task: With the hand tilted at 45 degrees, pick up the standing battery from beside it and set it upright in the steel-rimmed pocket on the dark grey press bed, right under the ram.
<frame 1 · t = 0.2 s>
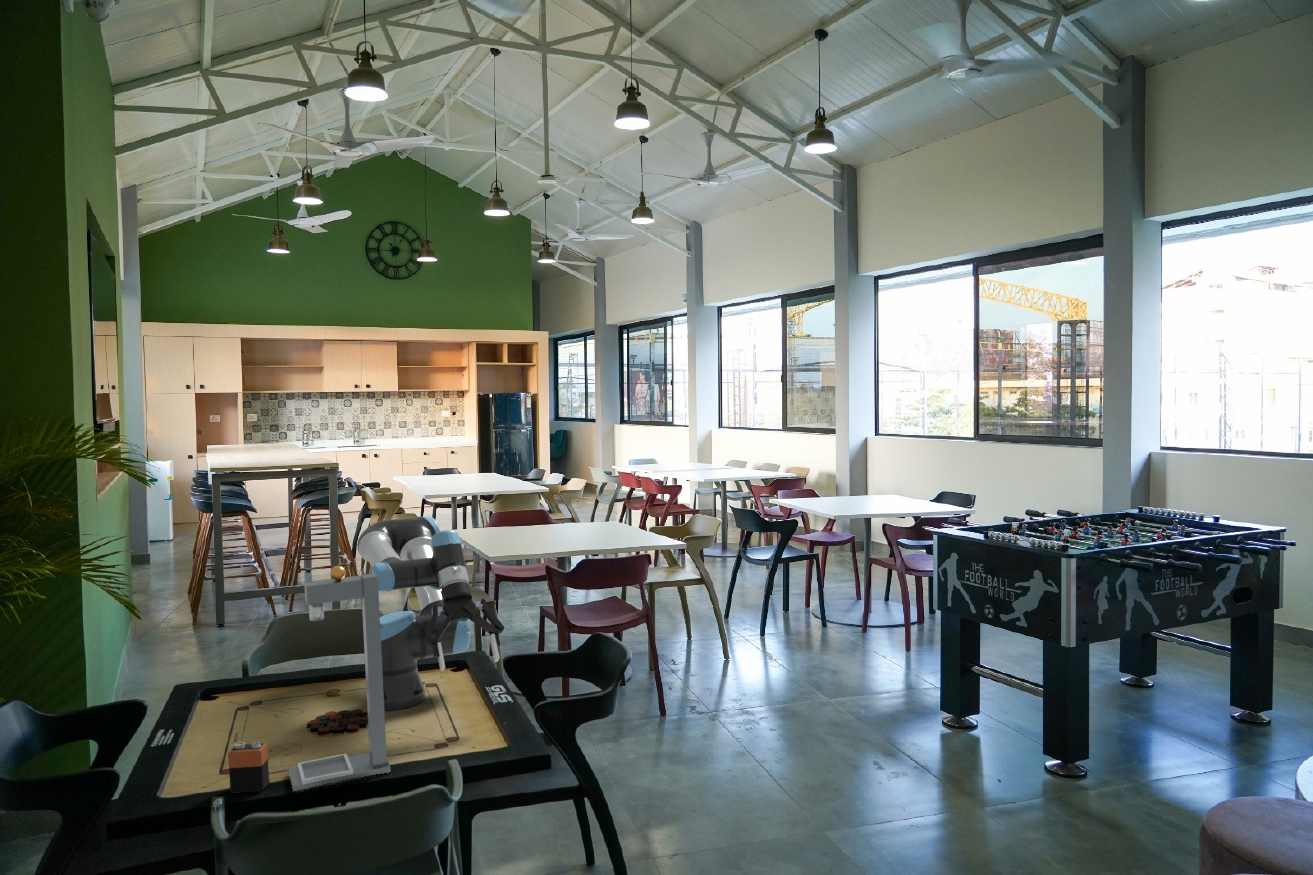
hand: (470, 665, 226), 15 cm above the table, tool tilted 35°, fingers open, 13 cm apart
battery: (250, 790, 194), on the table
arbor press: (339, 774, 200), on the table
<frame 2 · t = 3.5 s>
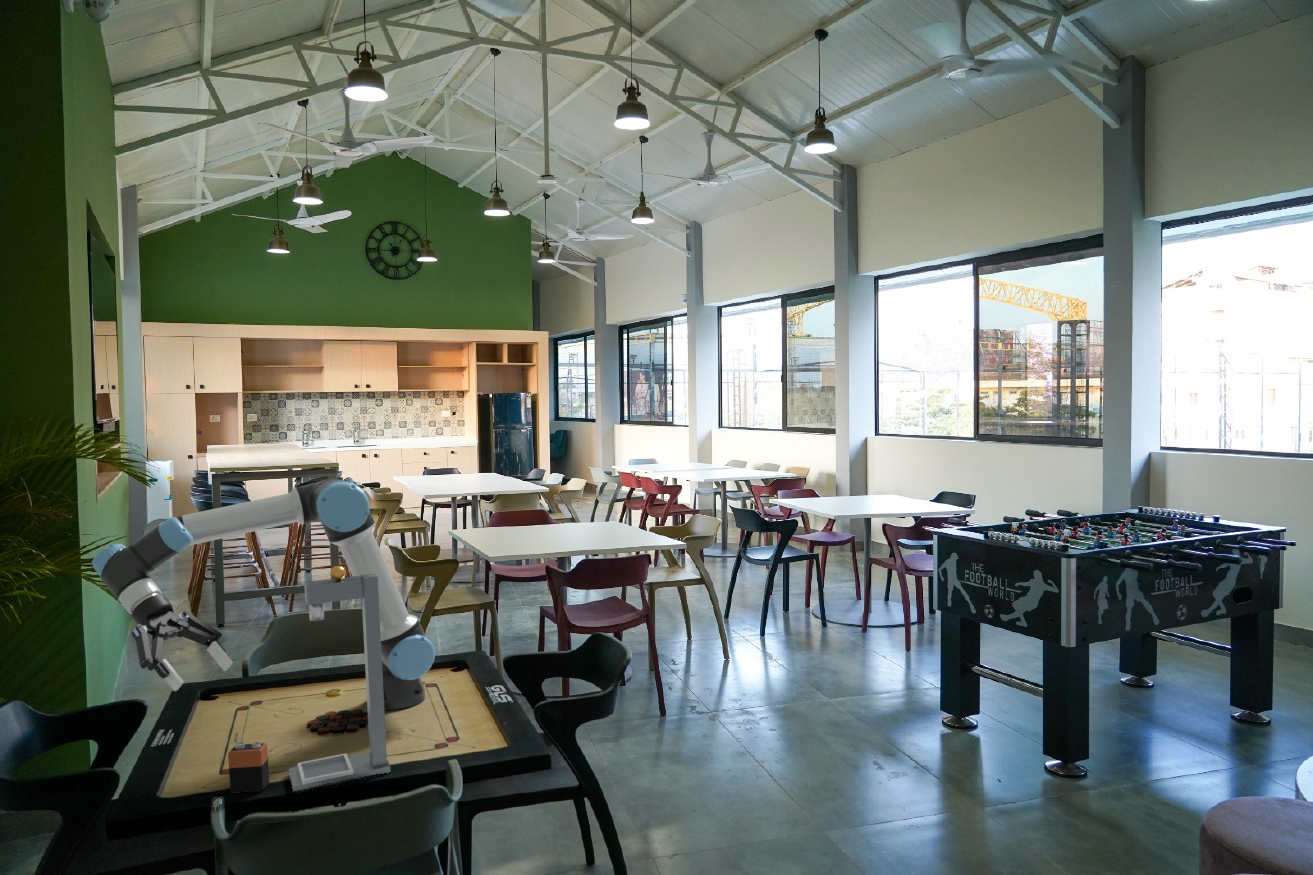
hand: (205, 676, 196), 24 cm above the table, tool tilted 45°, fingers open, 13 cm apart
nothing on the table moved.
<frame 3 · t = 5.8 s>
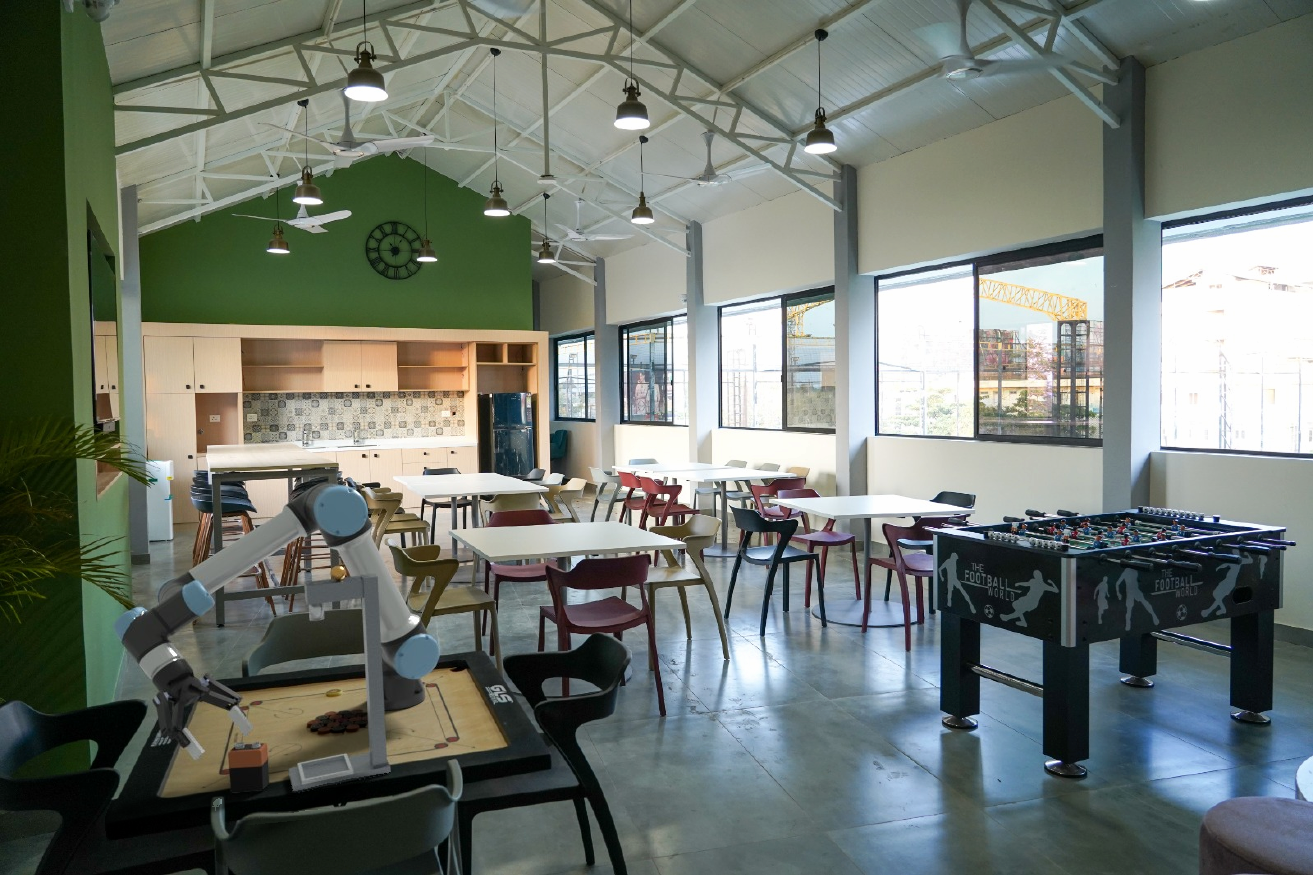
hand: (225, 743, 195), 10 cm above the table, tool tilted 45°, fingers open, 13 cm apart
nothing on the table moved.
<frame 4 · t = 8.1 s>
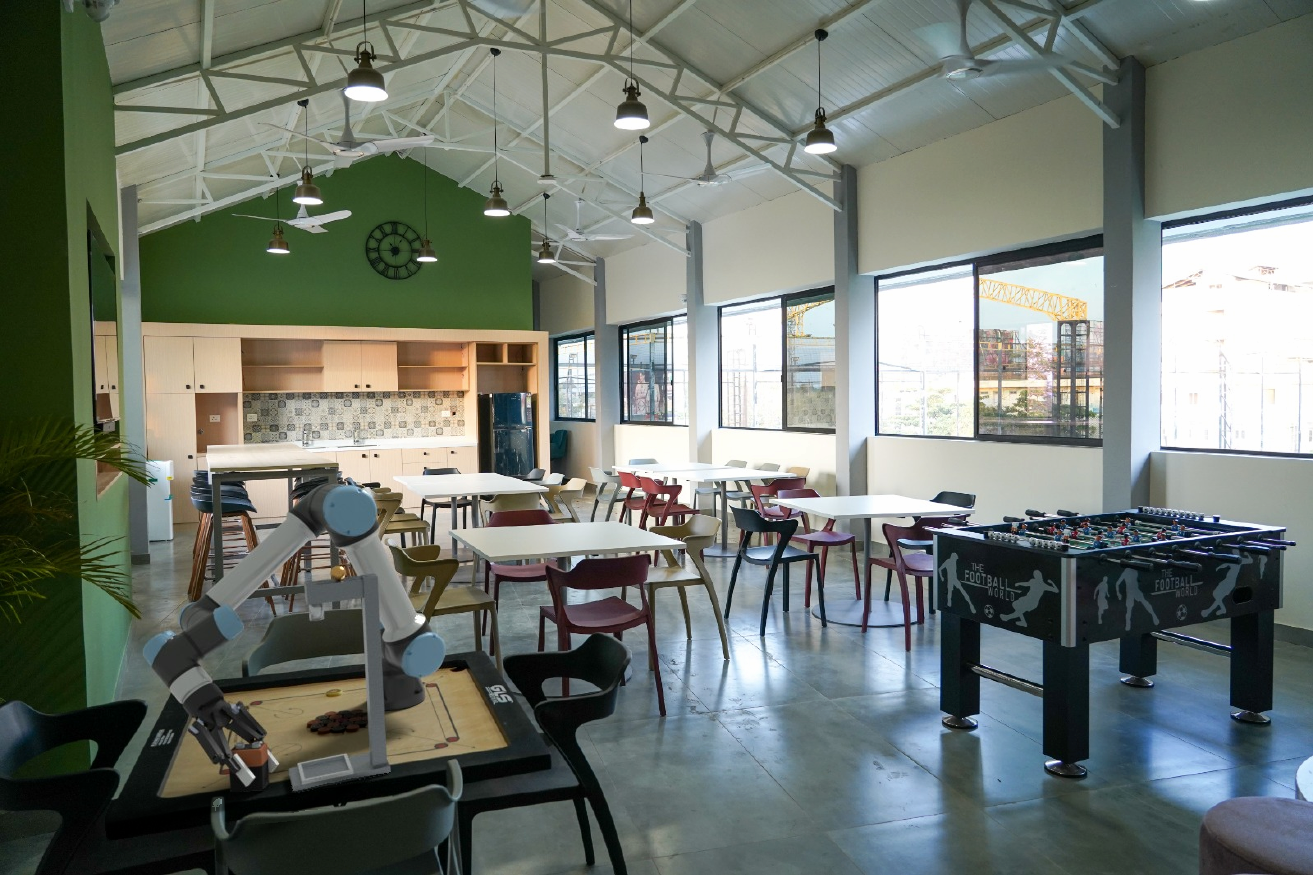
hand: (262, 774, 193), 3 cm above the table, tool tilted 45°, fingers closed on battery, 6 cm apart
battery: (250, 789, 194), on the table, touching gripper
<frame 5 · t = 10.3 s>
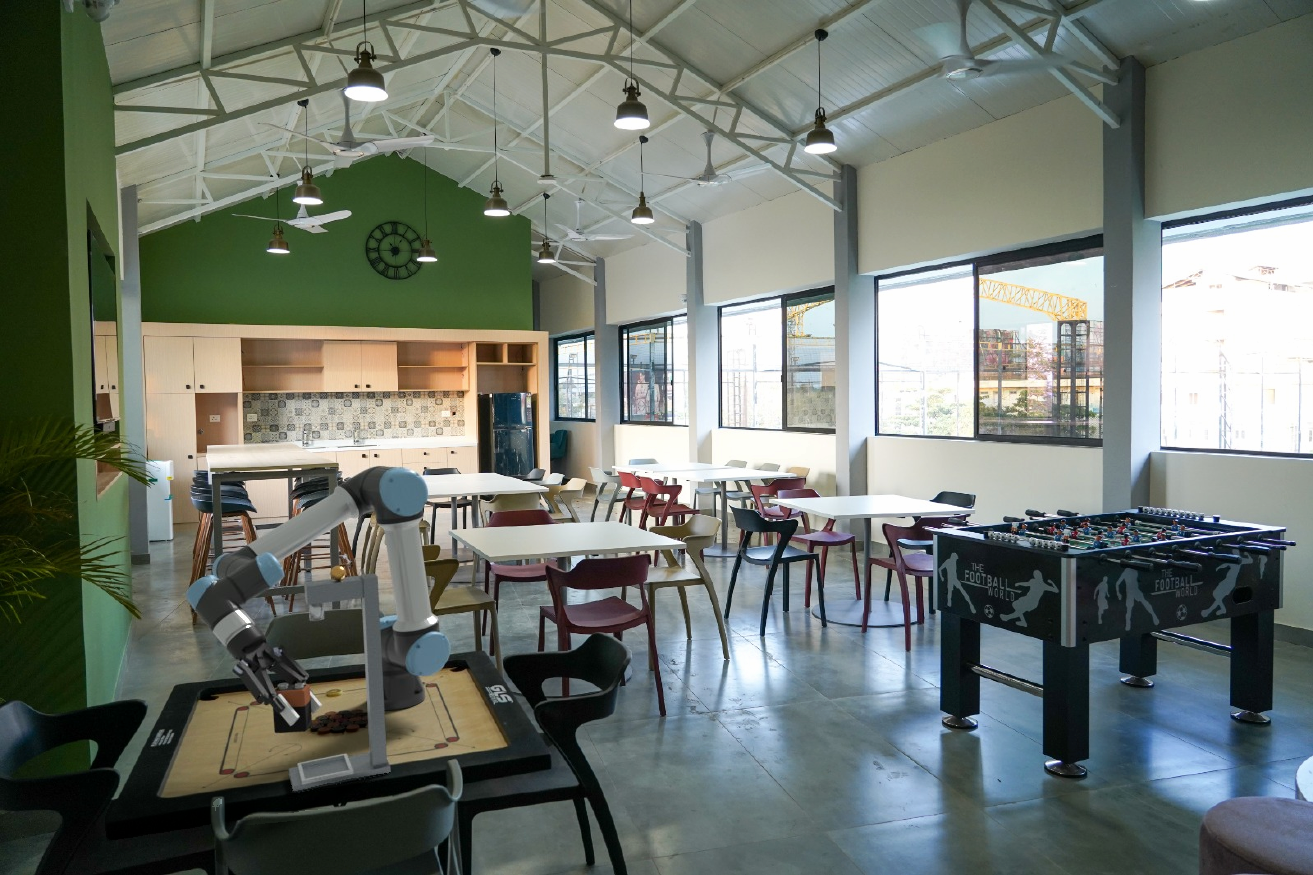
hand: (306, 715, 195), 15 cm above the table, tool tilted 45°, fingers closed on battery, 6 cm apart
battery: (293, 730, 196), point 11 cm above the table, touching gripper
when the fingers open (6 cm above the table, at t = 12.7 s): battery drops 1 cm, resting on arbor press.
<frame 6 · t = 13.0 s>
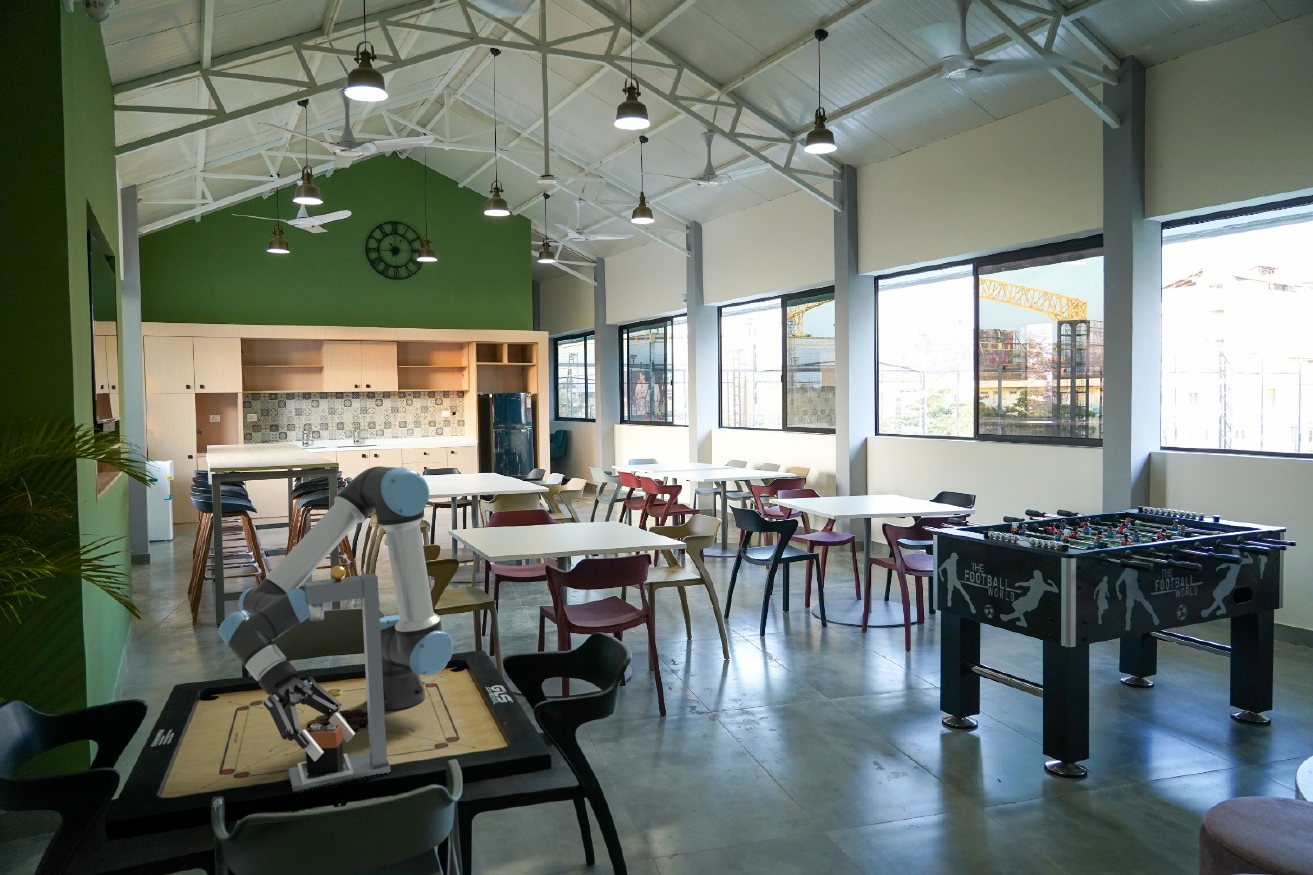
hand: (335, 747, 198), 7 cm above the table, tool tilted 45°, fingers open, 10 cm apart
battery: (325, 770, 199), point 1 cm above the table, touching arbor press
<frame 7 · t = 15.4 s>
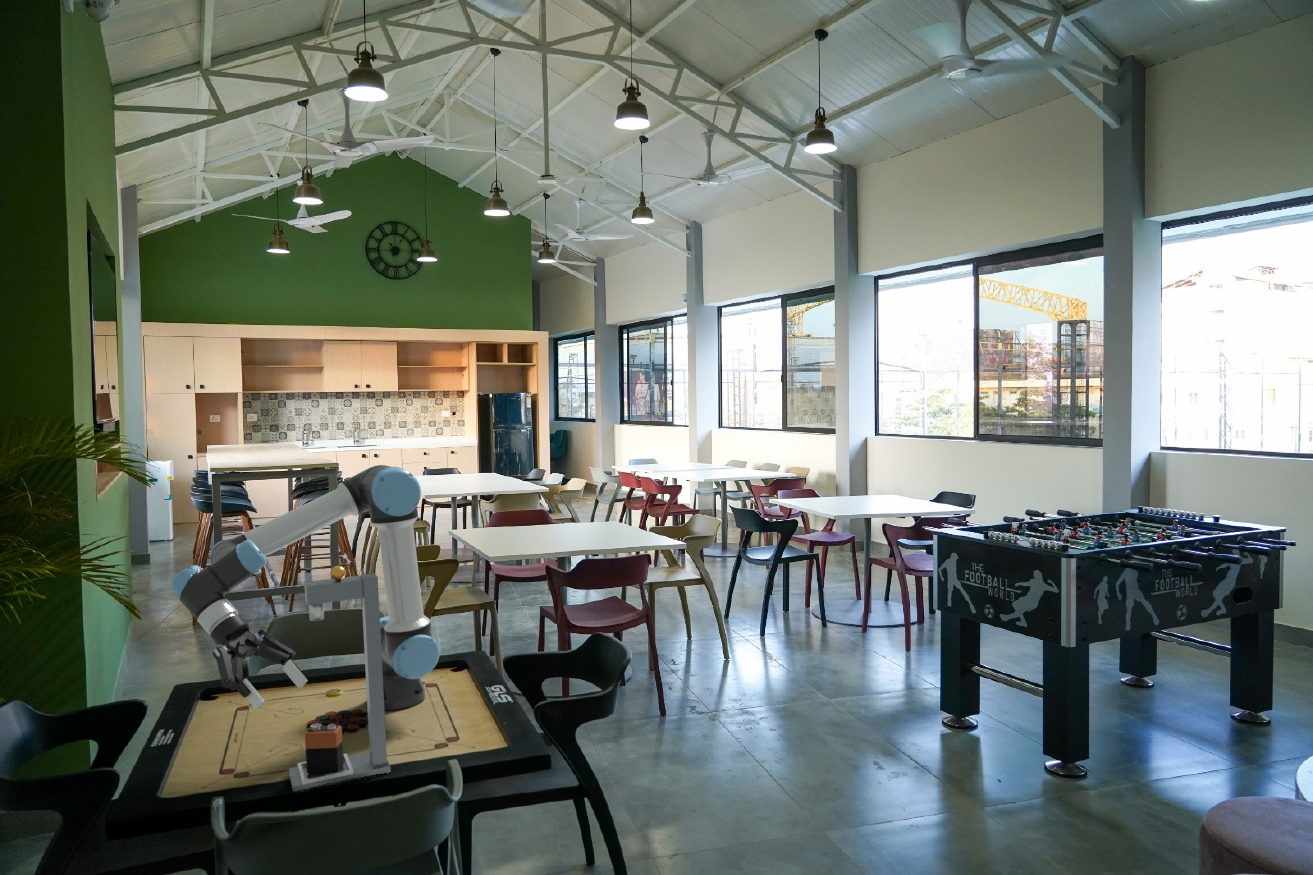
hand: (282, 695, 201), 17 cm above the table, tool tilted 45°, fingers open, 13 cm apart
nothing on the table moved.
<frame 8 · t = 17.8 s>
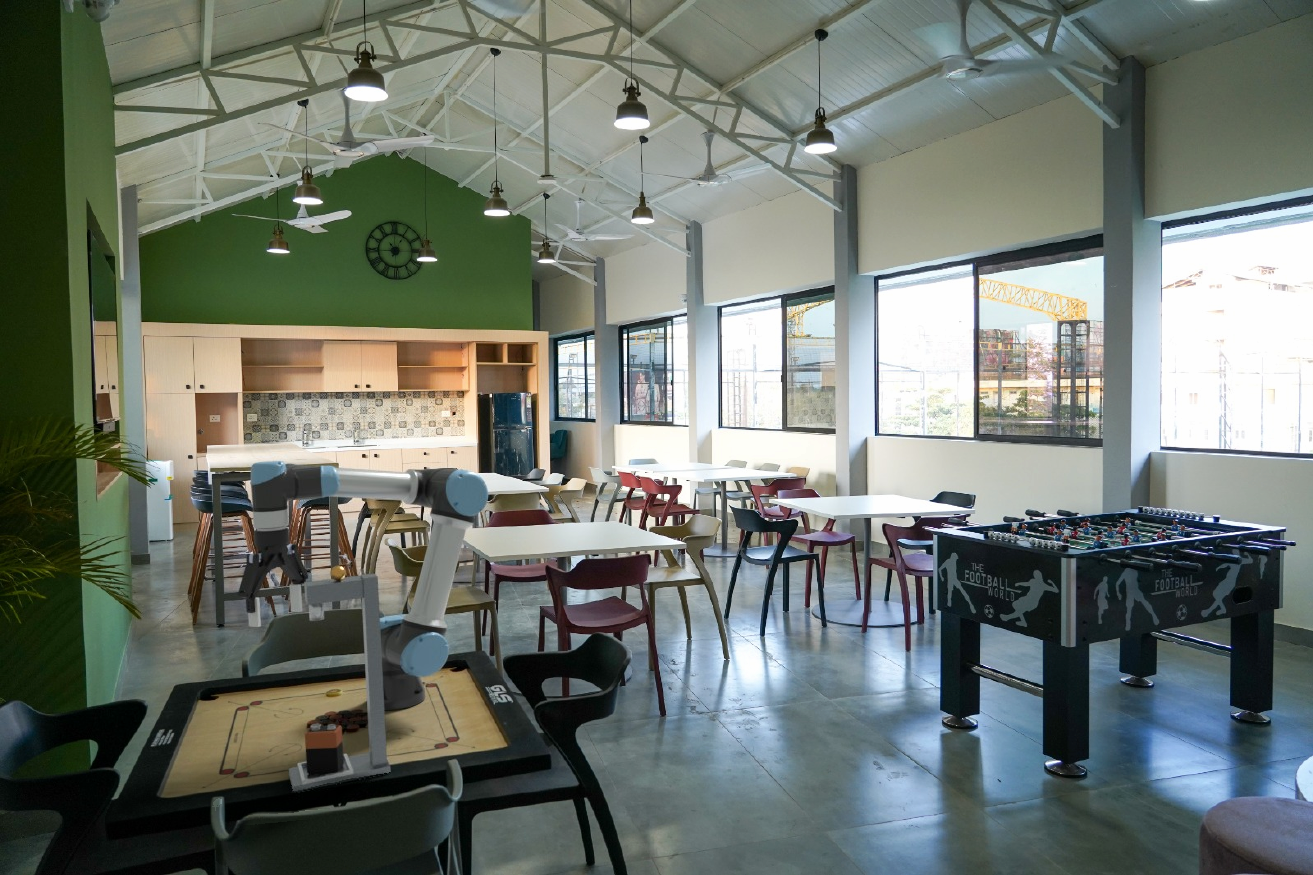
hand: (276, 618, 212), 32 cm above the table, tool pointing down, fingers open, 13 cm apart
nothing on the table moved.
at the end: battery inside the target area on the arbor press (0.2 cm from its centre), point 1.3 cm above the arbor press's base; battery tilted 0°; the gripper is holding nothing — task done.
